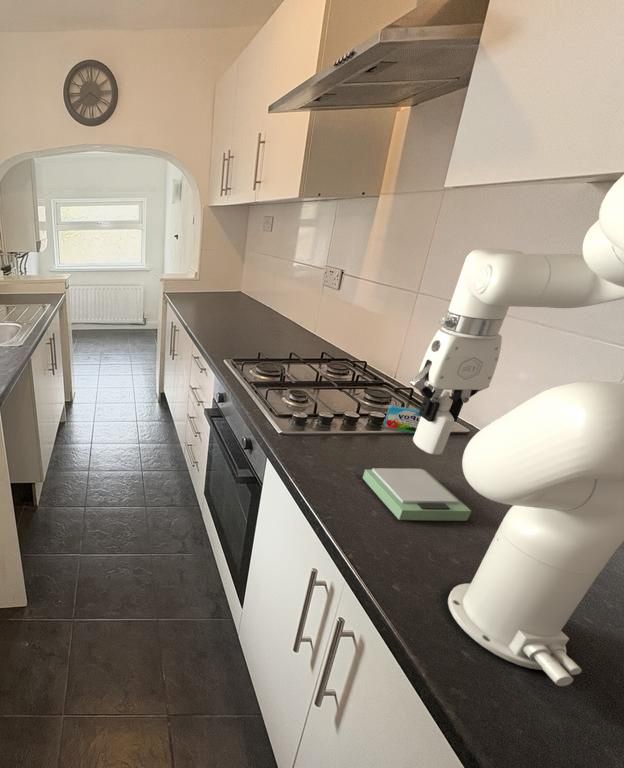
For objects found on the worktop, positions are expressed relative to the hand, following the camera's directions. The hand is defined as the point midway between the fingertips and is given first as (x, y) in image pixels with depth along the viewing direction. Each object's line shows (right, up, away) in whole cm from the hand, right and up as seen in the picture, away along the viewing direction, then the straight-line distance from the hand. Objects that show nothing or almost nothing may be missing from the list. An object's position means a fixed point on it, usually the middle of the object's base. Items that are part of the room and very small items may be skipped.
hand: (437, 417), depth 78 cm
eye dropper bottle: (0, -6, +3) cm, 7 cm away
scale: (0, -17, +7) cm, 18 cm away
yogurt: (+17, -6, +31) cm, 36 cm away
